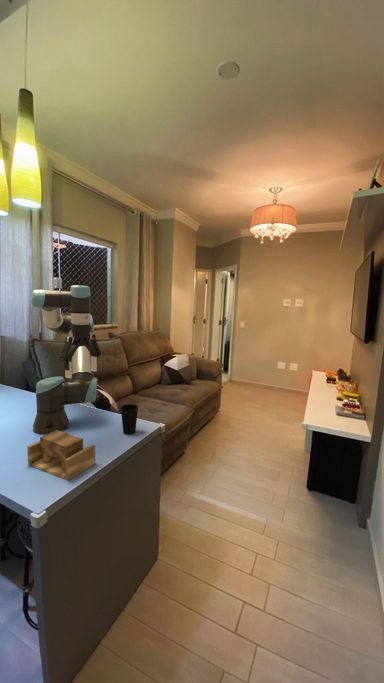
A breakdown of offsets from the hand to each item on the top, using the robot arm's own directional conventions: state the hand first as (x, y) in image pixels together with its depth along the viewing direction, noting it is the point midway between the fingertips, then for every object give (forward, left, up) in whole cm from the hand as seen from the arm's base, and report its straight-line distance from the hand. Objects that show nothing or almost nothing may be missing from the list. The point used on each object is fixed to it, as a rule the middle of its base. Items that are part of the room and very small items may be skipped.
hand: (81, 374), depth 119 cm
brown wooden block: (+8, -18, -24) cm, 31 cm away
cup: (+13, +15, -29) cm, 35 cm away
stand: (+8, -18, -29) cm, 35 cm away
